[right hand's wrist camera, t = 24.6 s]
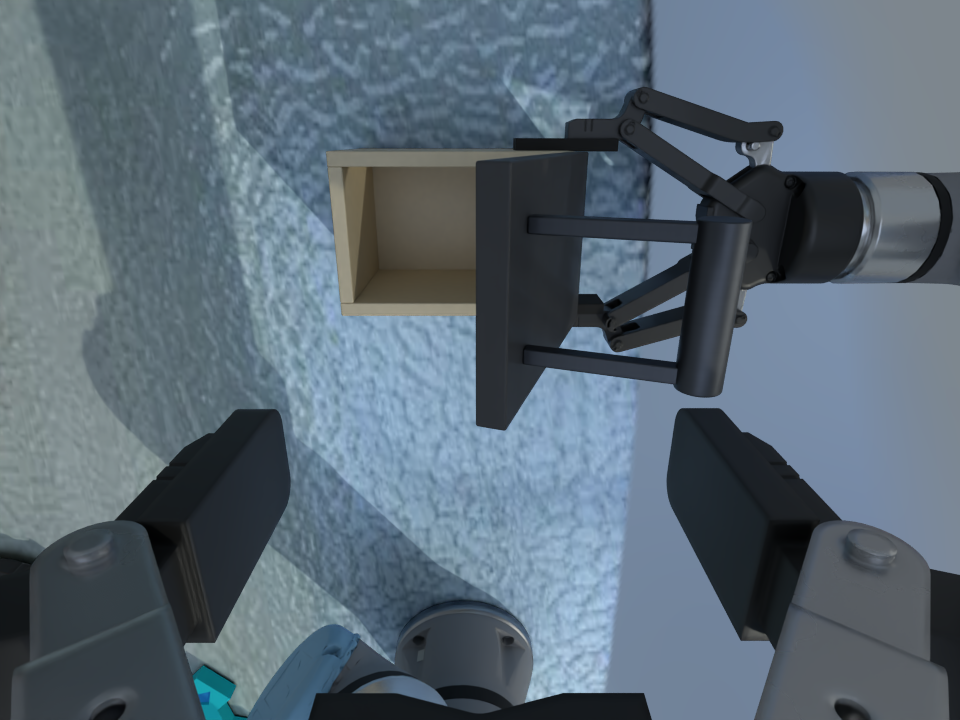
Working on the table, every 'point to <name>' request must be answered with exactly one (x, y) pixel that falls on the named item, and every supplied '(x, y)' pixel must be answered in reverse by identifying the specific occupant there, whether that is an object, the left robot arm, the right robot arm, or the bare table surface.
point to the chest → (407, 228)
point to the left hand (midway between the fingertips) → (512, 228)
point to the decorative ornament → (214, 695)
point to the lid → (555, 284)
